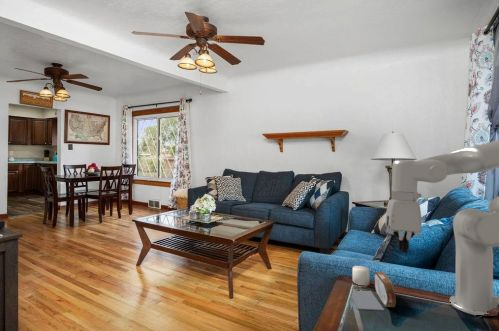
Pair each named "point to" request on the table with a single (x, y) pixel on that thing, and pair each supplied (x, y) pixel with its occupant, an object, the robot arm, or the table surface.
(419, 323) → the table surface
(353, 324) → the table surface
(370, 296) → the mat
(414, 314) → the table surface
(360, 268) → the white rounded dome
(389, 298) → the tin
